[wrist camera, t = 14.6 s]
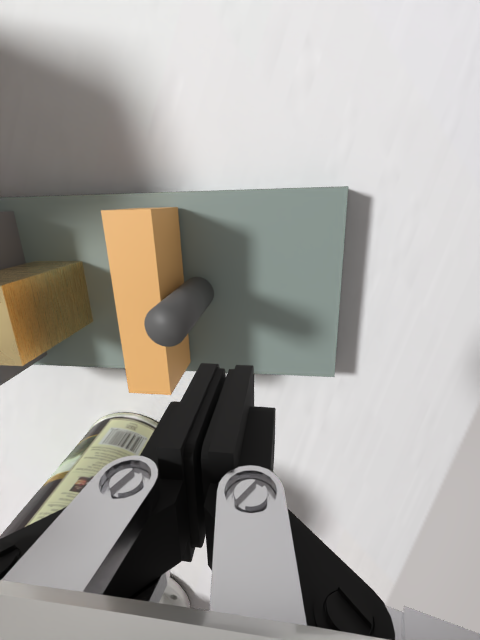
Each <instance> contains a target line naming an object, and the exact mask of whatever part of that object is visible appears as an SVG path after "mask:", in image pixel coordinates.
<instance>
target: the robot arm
mask: <svg viewBox="0 0 480 640" xmlns="http://www.w3.org/2000/svg"><path fill="white" fill-rule="evenodd" d="M274 444H275V408H268V407H254V366H253V365H236V366H235V369H229V371H228V374H227V376H226V375H225V369H222V368H220V367H219V364H211V363H201V364H200V366H199V368H198V370H197V371H196V373H195V375H194V377H193V379H192V381H191V383H190V385H189V386H188V388H187V390H186V392H185V394H184V396H183V398H182V400H181V401H180V402H171V403H170V404H169V406H168V408H167V409H166V411H165V413H164V415H163V416H162V418H161V420H160V421H159V423H158V425H157V427H156V428H155V430H154V432H153V433H152V435H151V437H150V439H149V440H148V442H147V444H146V446H145V447H144V449H143V451H142V452H141V454H140V456H136V455H133V456H126V457H122V458H119V459H116V460H114V461H112V462H110V463H109V464H107V465H105V466H104V467H103V468H102V469H101V470H100V471H99V472H98V473H97V474H96V475H95V476H94V477H93V478H92V479H91V481H90V482H89V483H88V484H87V485H86V486H85V487H84V488H83V489H82V491H81V492H80V493H79V494H78V495H77V496H76V497H75V498H74V499H73V501H72V502H71V503H70V504H69V505H68V506H67V507H65V508H63V509H61V510H59V511H57V512H55V513H52V514H50V515H48V516H46V517H44V518H42V519H40V520H38V521H36V522H34V523H32V524H30V525H28V526H26V527H24V528H22V529H20V530H18V531H15V532H13V533H11V534H9V535H7V536H5V537H3V538H1V539H0V640H480V634H479V633H476V632H473V631H471V630H468V629H465V628H463V627H460V626H458V625H455V624H452V623H449V622H447V621H444V620H441V619H439V618H436V617H433V616H431V615H428V614H425V613H422V612H420V611H417V610H414V609H412V608H409V607H406V606H404V607H403V612H402V611H399V610H396V609H394V608H391V607H388V606H386V605H385V604H384V602H383V601H382V600H381V599H380V598H379V596H378V595H377V594H376V593H375V592H374V591H373V590H372V589H371V588H370V587H369V586H368V585H367V584H366V583H365V582H364V581H363V580H362V579H361V578H360V577H359V576H358V575H357V574H356V573H355V572H354V571H353V570H352V569H350V568H349V567H348V566H347V565H346V564H345V563H344V562H343V561H342V560H341V559H340V558H339V557H338V556H337V555H336V554H335V553H334V552H333V551H332V550H331V549H329V548H328V547H327V546H326V545H325V544H324V543H323V542H322V541H321V540H320V539H319V538H318V537H317V536H316V535H315V534H314V533H313V532H312V531H311V530H310V529H309V528H307V527H306V526H305V525H304V524H303V523H302V522H301V521H300V520H299V519H298V518H297V517H296V516H295V515H294V514H293V513H292V512H291V511H290V510H289V509H288V508H287V503H286V497H285V491H284V487H283V485H282V482H281V480H280V479H279V478H278V477H277V475H276V474H274V473H273V464H274ZM205 535H206V543H207V557H208V565H209V567H210V568H211V570H212V579H211V595H210V611H208V610H201V609H195V608H190V602H189V599H188V597H187V595H186V593H185V592H184V590H183V589H182V587H181V586H180V585H179V584H178V583H177V582H176V581H175V580H173V579H172V578H171V577H170V569H171V568H173V567H174V566H176V565H177V564H179V563H180V562H181V561H187V562H191V561H192V557H193V554H194V550H195V547H199V548H201V547H202V546H203V543H204V539H205Z"/></svg>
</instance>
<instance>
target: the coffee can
mask: <svg viewBox="0 0 480 640" xmlns="http://www.w3.org/2000/svg"><path fill="white" fill-rule="evenodd" d="M157 425H158V423H157V422H155V421H154V420H151V419H149V418H147V417H144V416H142V415H138V414H134V413H114V414H111V415H107V416H105V417H103V418H101V419H99V420H98V421H97V422H96V423H95V424H94V425H93V426H92V427H91V428H90V430H89V432H88V433H87V434H86V435H85V437H84V438H83V439H82V440H81V441H80V443H79V444H78V445H77V446H76V447H75V449H74V450H73V451H72V452H71V453H70V454H69V455H68V457H67V458H66V459H65V460H64V461H63V462H62V464H61V465H60V466H59V467H58V469H57V470H56V471H55V472H54V473H53V474H52V476H51V477H50V478H49V479H48V480H47V482H46V483H45V484H44V485H43V486H42V487H41V489H40V490H39V491H38V492H37V493H36V494H35V495H34V497H33V498H32V499H31V500H30V501H29V503H28V504H27V505H26V506H25V507H24V508H23V510H22V511H21V512H20V513H19V514H18V515H17V517H16V518H15V519H14V520H13V521H12V523H11V524H10V525H9V526H8V527H7V528H6V530H5V531H4V532H3V533H2V535H1V536H0V539H1V538H3V537H5V536H7V535H9V534H11V533H13V532H15V531H18V530H20V529H22V528H24V527H26V526H28V525H30V524H32V523H34V522H36V521H38V520H40V519H42V518H44V517H46V516H48V515H50V514H52V513H55V512H57V511H59V510H61V509H63V508H65V507H67V506H68V505H69V504H70V503H71V502H72V501H73V499H74V498H75V497H76V496H77V495H78V494H79V493H80V492H81V491H82V489H83V488H84V487H85V486H86V485H87V484H88V483H89V482H90V481H91V479H92V478H93V477H94V476H95V475H96V474H97V473H98V472H99V471H100V470H101V469H102V468H103V467H104V466H105V465H107V464H109V463H110V462H112V461H114V460H116V459H119V458H122V457H126V456H133V455H136V456H140V454H141V452H142V451H143V449H144V447H145V446H146V444H147V442H148V440H149V439H150V437H151V435H152V433H153V432H154V430H155V428H156V427H157Z"/></svg>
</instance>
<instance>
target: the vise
mask: <svg viewBox="0 0 480 640" xmlns="http://www.w3.org/2000/svg"><path fill="white" fill-rule="evenodd" d="M347 198H348V186H344V187H313V188H282V189H250V190H219V191H188V192H157V193H125V194H94V195H63V196H32V197H0V270H2V269H6V268H10V267H14V266H18V265H22V264H26V263H30V262H34V261H82V262H83V268H84V273H85V279H86V285H87V290H88V296H89V301H90V307H91V313H92V318H93V322H92V323H90V324H89V325H87V326H85V327H84V328H82V329H81V330H79V331H77V332H76V333H74V334H73V335H71V336H69V337H68V338H66V339H65V340H63V341H62V342H60V343H58V344H57V345H55V346H54V347H52V348H50V349H49V350H47V351H46V352H44V353H42V354H41V355H39V356H38V357H36V358H35V359H33V360H31V361H30V362H28V363H27V364H25V365H23V366H7V365H0V385H2V384H3V383H5V382H6V381H8V380H10V379H11V378H13V377H14V376H16V375H17V374H19V373H20V372H22V371H23V370H25V369H26V368H28V367H30V366H31V365H33V364H34V365H58V366H82V367H106V368H125V364H124V357H123V351H122V344H121V338H120V331H119V325H118V318H117V312H116V305H115V299H114V292H113V286H112V279H111V273H110V266H109V260H108V254H107V247H106V241H105V234H104V228H103V221H102V215H101V210H116V209H131V208H159V207H178V215H179V227H180V239H181V251H182V263H183V275H184V282H186V281H187V280H188V279H190V278H192V277H201V278H204V279H206V280H207V281H208V282H209V283H210V284H211V285H212V287H213V290H214V297H213V300H212V302H211V304H210V305H209V306H208V308H207V309H206V310H205V312H204V313H203V314H202V316H201V317H200V318H199V320H198V321H197V322H196V324H195V325H194V326H193V328H192V329H191V330H190V332H189V333H188V336H189V348H190V360H191V362H190V364H189V365H188V367H187V369H186V370H185V371H197V370H198V368H199V366H200V364H201V363H211V364H219V367H220V368H222V369H225V372H226V373H228V371H229V369H235V366H236V365H253V366H254V374H274V375H298V376H322V377H334V375H335V361H336V348H337V334H338V321H339V307H340V293H341V280H342V266H343V253H344V239H345V226H346V212H347Z"/></svg>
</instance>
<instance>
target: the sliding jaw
mask: <svg viewBox="0 0 480 640" xmlns="http://www.w3.org/2000/svg"><path fill="white" fill-rule="evenodd" d="M101 215H102V221H103V228H104V234H105V241H106V247H107V254H108V260H109V266H110V273H111V279H112V286H113V292H114V299H115V305H116V312H117V318H118V325H119V331H120V338H121V344H122V351H123V357H124V364H125V370H126V376H127V383H128V389H129V393H145V394H164V395H171V394H172V392H173V390H174V389H175V387H176V385H177V384H178V382H179V380H180V379H181V377H182V375H183V374H184V372H185V370H186V369H187V367H188V365H189V364H190V362H191V360H190V348H189V336H188V333H189V332H190V330H191V329H192V328H193V326H194V325H195V324H196V322H197V321H198V320H199V318H200V317H201V316H202V314H203V313H204V312H205V310H206V309H207V308H208V306H209V305H210V304H211V302H212V300H213V297H214V290H213V287H212V285H211V284H210V283H209V282H208V281H207V280H206V279H204V278H201V277H192V278H190V279H188V280H187V281H186V282H184V275H183V263H182V251H181V239H180V227H179V215H178V207H159V208H131V209H116V210H101Z"/></svg>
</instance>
